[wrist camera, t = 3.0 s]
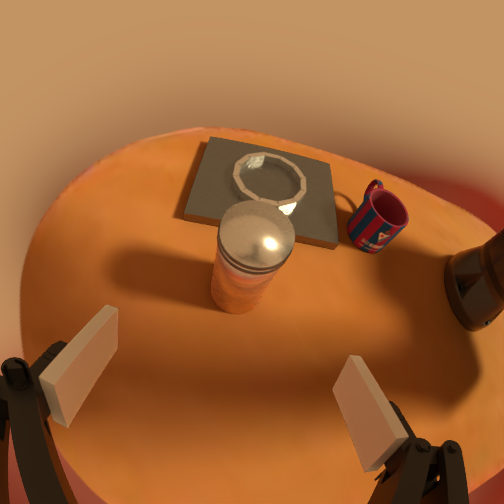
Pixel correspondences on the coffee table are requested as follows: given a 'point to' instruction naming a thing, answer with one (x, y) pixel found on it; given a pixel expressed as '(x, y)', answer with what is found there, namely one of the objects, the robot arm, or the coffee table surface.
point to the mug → (377, 219)
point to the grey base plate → (265, 188)
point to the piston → (249, 254)
